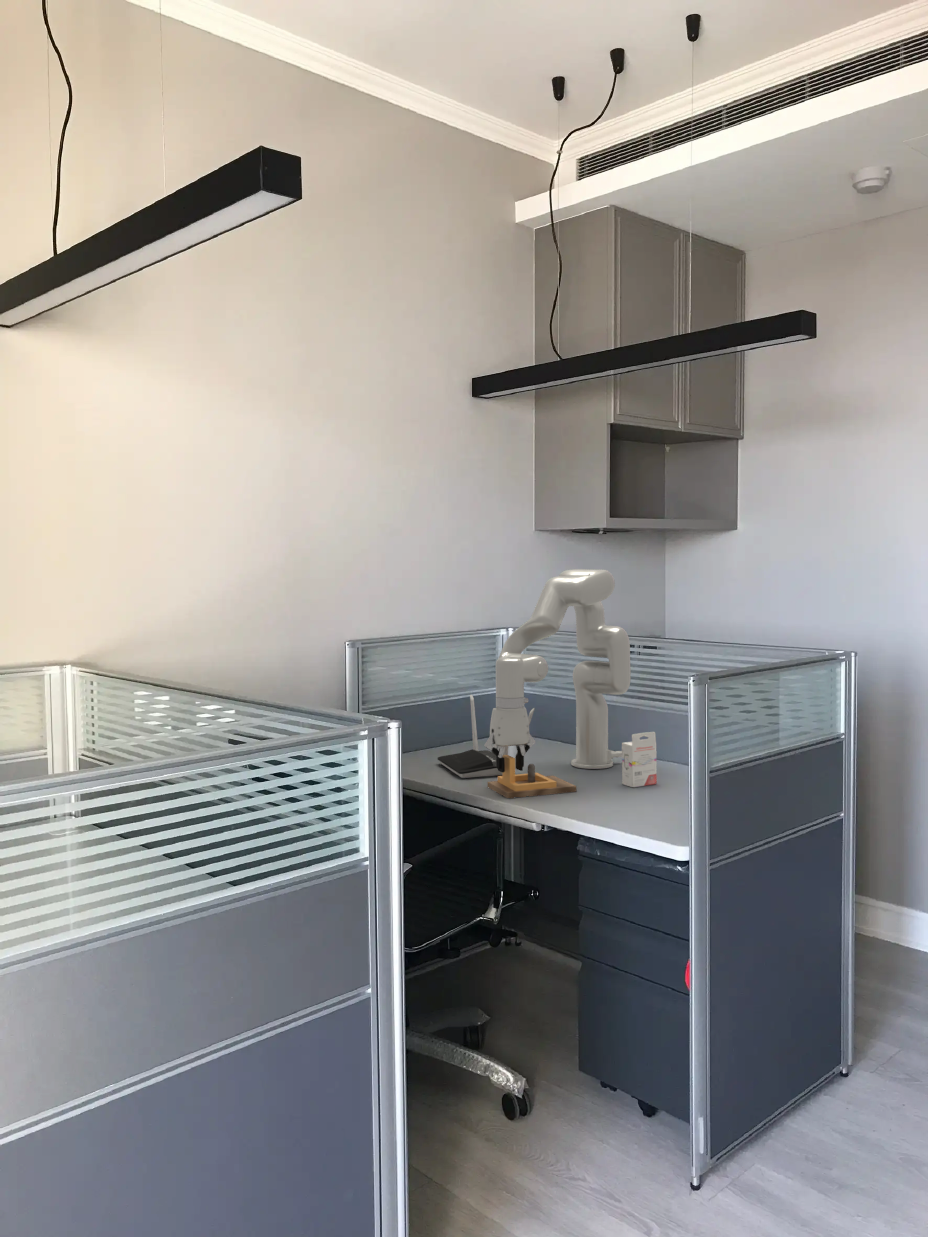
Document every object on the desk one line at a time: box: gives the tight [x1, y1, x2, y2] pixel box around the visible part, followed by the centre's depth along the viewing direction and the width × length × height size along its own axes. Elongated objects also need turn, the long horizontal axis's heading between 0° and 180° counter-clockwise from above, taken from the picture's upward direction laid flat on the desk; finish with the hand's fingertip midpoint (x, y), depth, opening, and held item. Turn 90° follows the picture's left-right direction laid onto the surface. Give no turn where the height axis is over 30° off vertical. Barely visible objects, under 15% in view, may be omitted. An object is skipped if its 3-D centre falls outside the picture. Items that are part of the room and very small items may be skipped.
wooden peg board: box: [487, 763, 577, 799], centre depth 267 cm, size 20×14×7 cm
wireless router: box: [437, 694, 535, 779], centre depth 293 cm, size 34×23×20 cm
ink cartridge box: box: [621, 731, 658, 788], centre depth 272 cm, size 9×5×15 cm, turn 117°
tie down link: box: [497, 754, 556, 791], centre depth 266 cm, size 12×12×8 cm
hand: (510, 769), depth 265 cm, fingers open, 4 cm apart
